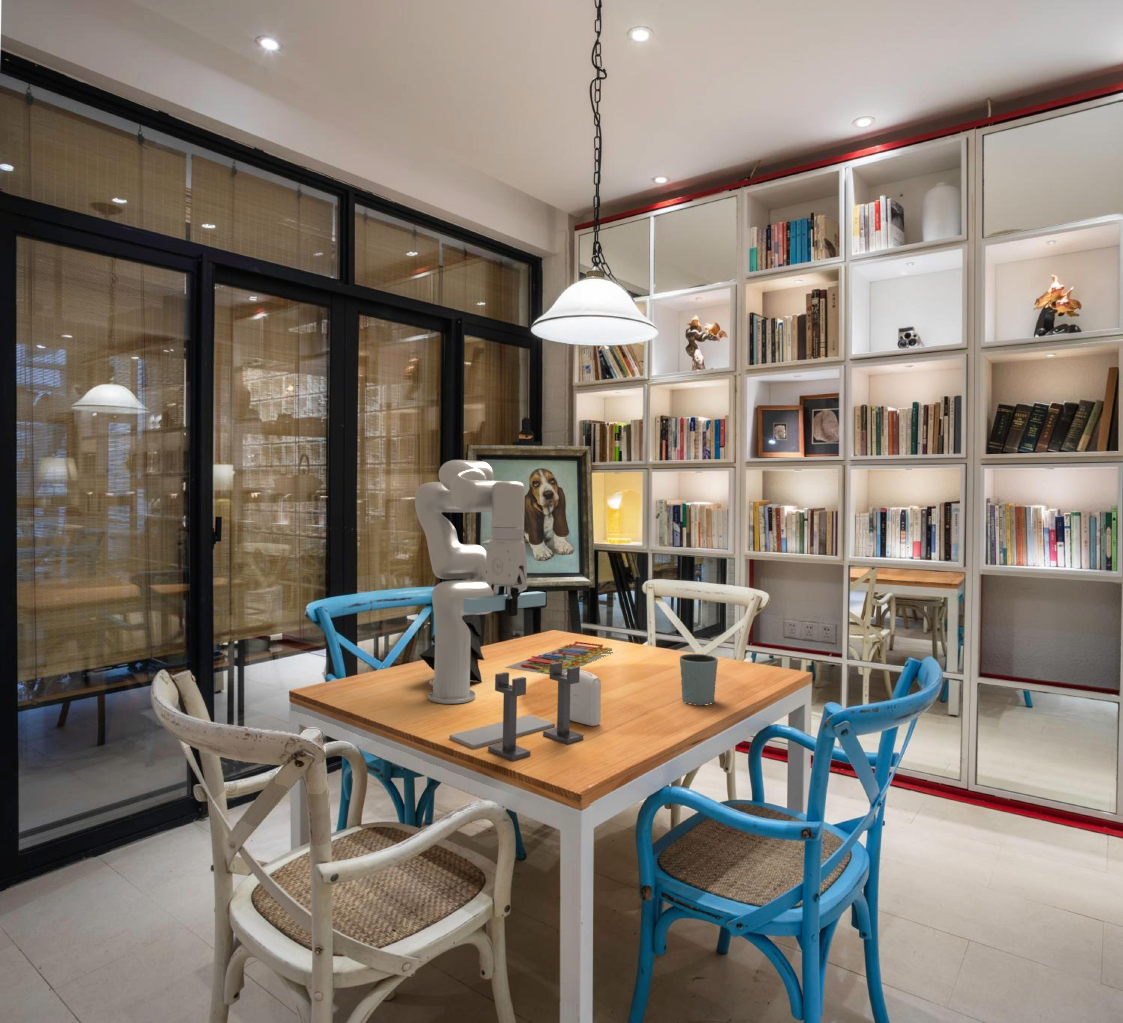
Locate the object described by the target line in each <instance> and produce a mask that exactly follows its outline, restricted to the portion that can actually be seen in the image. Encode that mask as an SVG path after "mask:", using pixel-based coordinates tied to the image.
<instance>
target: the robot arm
mask: <svg viewBox="0 0 1123 1023" xmlns="http://www.w3.org/2000/svg"><path fill="white" fill-rule="evenodd" d="M438 479H439V481H431V482H425V483H423V484H421V485H419V486H418V487H417V489H416V491H415V495H414V505H415V512H416V516H417V518H418V521H419V523H420V525H421V528H422V529H423V532H424V535H425V538H426V542H427V543H426V544H427V549H428V554H429V559H430V565H431V570H432V572H433V575H434V576H435V577H436V578H437V579H443V580H445V581H442V582H441V581H440V582H439V583H438V584H437V585H435V587H434V588H433V590H432V593H431V603H432V609H433V615H434V635H435V643H434V644H435V665H434V670H433V672H434V673H433V679H430V680H429V681H428V684H429V685H430V686H432V690H431V691H429V693H428V694H427V699H428V700H429V701H430V702H433V703H437V704H442V705H443V704H445V705H448V704H449V705H457V704H465V703H467V702H471V701H473V700H475V699H476V692H475V691H474V690H472V689H471V688H470V687H471V685H470V684H471V680H470V647H471V634H470V630H469V628H468V626H467V625H466V623H465V622H464V621H463V619H462V616H467V615H479V616H480V615H487V614H490V613H492V612H493V611H491V612H482V613H474V614H471V613H466V612H463V611H464V598H474V597H484V596H495V595H505V594H507V598H508V599H506V603H505V610H500V611H494V615H496V616H497V615H504V616H505V617H515V616H516V617H517V616H518V609H519V608H518V598H519V597H520V594H521V593H523V592H524V591H526V590H527V589H528V585H527V579H528V578H527V576H528V571H527V570H528V563H527V562H528V560H527V548H526V544H525V501H526V500H525V499H526V498H525V495H526V494H525V493H526V492H525V490H526V488H525V485H524V484H523V483H522V482H520V481H508V480H507V481H503V480H494V479H495V478H494V471H493V468H492V466H490V464H489V463H487V462H486V461H482V460H468V459H467V460H465V459H452V460H449V461H446V462H444V463H443V464H442V465H441V466H440V468H439V471H438ZM443 513H491V521H490V522H491V523H490V526H491V527H490V528H491V531H490V536H491V537H490V540H489V542H488V545H487V546H488V547H487V550H486V549H485V547H483V546H481V545H479V544H475V543H474V544H473V543H472V544H469V543H467V544H466V543H465V544H463V543H461V542H460V541H459V537H458V533H457V530H456V528H455V526H454V524H453V523H452V522H451V520H449V519H448V518H447V517H446V516H444V514H443Z"/></svg>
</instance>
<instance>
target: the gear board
mask: <svg viewBox="0 0 1123 1023" xmlns="http://www.w3.org/2000/svg"><path fill="white" fill-rule="evenodd" d="M612 649H613V648H612V647H604V645H603V644H597V643H590V642H582V641H578V640H577V641H574V643H569V644H566V645H564V646H560V648H556V649H553V650H551V651H547V652H545V653H542V654H539V655H537V656H535V655H531V657H530V658H528V659H525V660H522V661H519V662H517V663H514V664H511V665H508V666H506V667H505V669H512V670H517V671H518V670H519V671H524V672H525V671H526V672H530V673H531V672H532V673H537V674H539V673H540V674H545V675H550V664H551V663H556V662H562V674H566V672H567V668H570V667H575V666H578V667H580V666H581V667H583V666H585V665H588V664H591V663H592V661H593V662H595V661H598V660H600V659H602V658H601V657H603V658H605V657H607V656H606V655H601V654H610V655H612V654H614V653H613V652H610V651H612ZM608 651H609V652H608ZM611 653H612V654H611ZM604 656H605V657H604ZM599 658H600V659H599ZM597 659H598V660H597ZM594 660H595V661H594ZM587 663H588V664H587Z"/></svg>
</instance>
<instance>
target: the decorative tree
mask: <svg viewBox="0 0 1123 1023" xmlns="http://www.w3.org/2000/svg"><path fill="white" fill-rule="evenodd" d="M462 619H463V621H464V622H465V623H466V625H467V626H468V628H469V630H470V634H471V647H470V682H476V683H477V682H478V683H482V682H483V681H482V675H481V674H482V673H481V671H480V668H479V661H485V658H484V656H483V653H482V649H481V648H482V647H481V643H480V639H479V637H482V625H481V624H482V623H481V617H480V615H467V616H462ZM430 639H431V641H432V642H433V644H432V645H430V647H428V648H427V649H426V650H425V651H423V652H421V653H420V654H419V655H418V656H419V657H420V658H421V659H422V660H423V662H425V663H426V665H428V667H430V668H431V670H433V671H434V665H435V634H434V635H433V636H431V637H430Z"/></svg>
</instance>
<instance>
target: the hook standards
mask: <svg viewBox="0 0 1123 1023" xmlns="http://www.w3.org/2000/svg"><path fill="white" fill-rule="evenodd" d="M580 670H581V669H580V667H578V666H575V667H570V668H567V675H566V673H564V674H562V662H556V663H551V664H550V674H549V680H552V681H556V682H557V711H556V712H557V715H556V716H557V719H556V722H557V723H556V727H552V728H548V729H545V730H542V731H543V732H542V736H543V737H546V738H549V739H552V740H554V741H557V742H560V743H561V744H562V743H563V744H566V745H570V744H574V743H576V742H577V743H578V742H580V741H584V734H582V733H578V732H576V731H573V730H570V728H571V727H570V726H571V724H570V721H571V720H570V684H574V683H579V675H580ZM494 675H495V676H494V677H495V678H494V680H495V681H494V691H495V692H499V693H501V694H503V709H502V710H503V711H502V712H503V713H502V714H503V716H502V722H503V741H501V742H498V743H494V744H491V745H487V746H488V747H487V751H488V752H489V753H491V754H494V755H497V756H499V757H502V758H504V759H506V760H509V761H511V762H514V761H517V760H521V759H524V758H527V757H530V756H531V750H529V749H527V748H524V747H522V746H519V745H517V737H516V718H518V716H517V712H518V711H517V708H518V704H517V703H518V697H521V696H525V695H527V677H525V676H522V677H515V678H512V680H511V682H512V683H511V684H510V672H507V671H505V672H499V673H495V674H494Z"/></svg>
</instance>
